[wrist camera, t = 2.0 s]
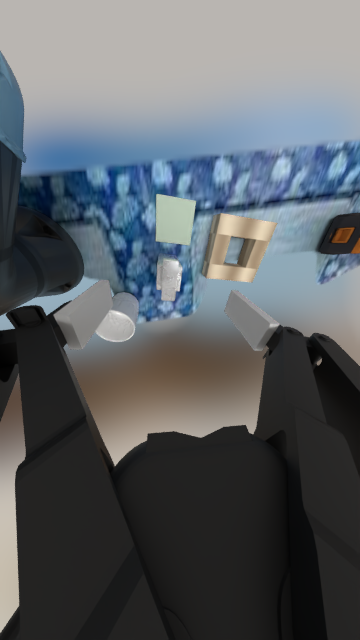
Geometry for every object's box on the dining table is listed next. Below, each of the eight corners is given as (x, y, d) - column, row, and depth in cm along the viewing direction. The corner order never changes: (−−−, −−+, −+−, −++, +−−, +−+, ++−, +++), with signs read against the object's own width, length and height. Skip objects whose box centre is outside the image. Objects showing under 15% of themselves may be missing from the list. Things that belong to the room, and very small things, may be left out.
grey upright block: (158, 274, 31) (156, 299, 19) (159, 247, 28) (156, 259, 16) (173, 276, 31) (179, 301, 20) (176, 249, 28) (185, 262, 17)
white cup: (135, 320, 37) (127, 346, 29) (105, 309, 34) (87, 334, 26) (146, 298, 34) (140, 319, 25) (114, 283, 31) (96, 303, 22)
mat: (156, 240, 27) (155, 241, 26) (156, 194, 23) (156, 193, 22) (189, 245, 28) (189, 245, 27) (195, 201, 24) (195, 201, 23)
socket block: (201, 273, 31) (206, 278, 28) (213, 215, 25) (221, 213, 22) (243, 277, 33) (252, 282, 30) (263, 224, 27) (277, 223, 24)
